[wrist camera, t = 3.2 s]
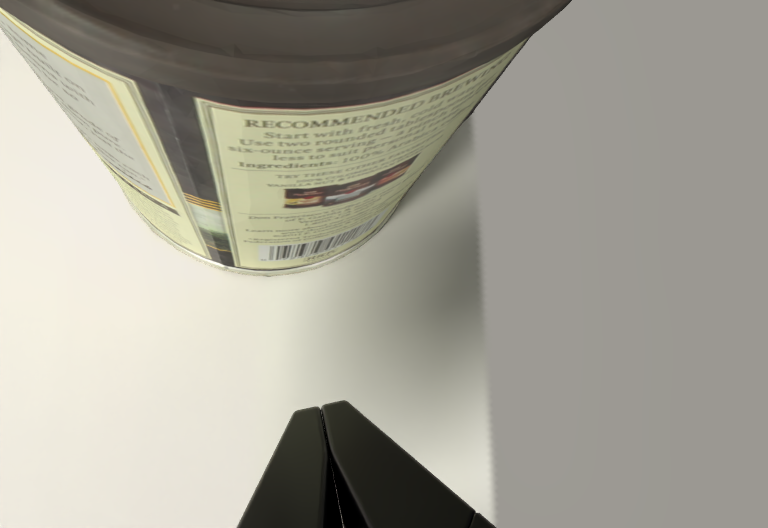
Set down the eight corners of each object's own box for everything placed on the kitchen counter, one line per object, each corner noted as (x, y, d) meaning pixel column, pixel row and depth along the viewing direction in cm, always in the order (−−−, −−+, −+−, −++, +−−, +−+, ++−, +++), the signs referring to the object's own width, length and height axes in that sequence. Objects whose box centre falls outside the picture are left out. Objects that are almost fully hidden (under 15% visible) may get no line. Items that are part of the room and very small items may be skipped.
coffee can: (272, -68, 22) (296, -768, 9) (473, 142, 22) (809, -219, 9) (28, 108, 20) (-500, -502, 6) (258, 345, 20) (258, 283, 6)
